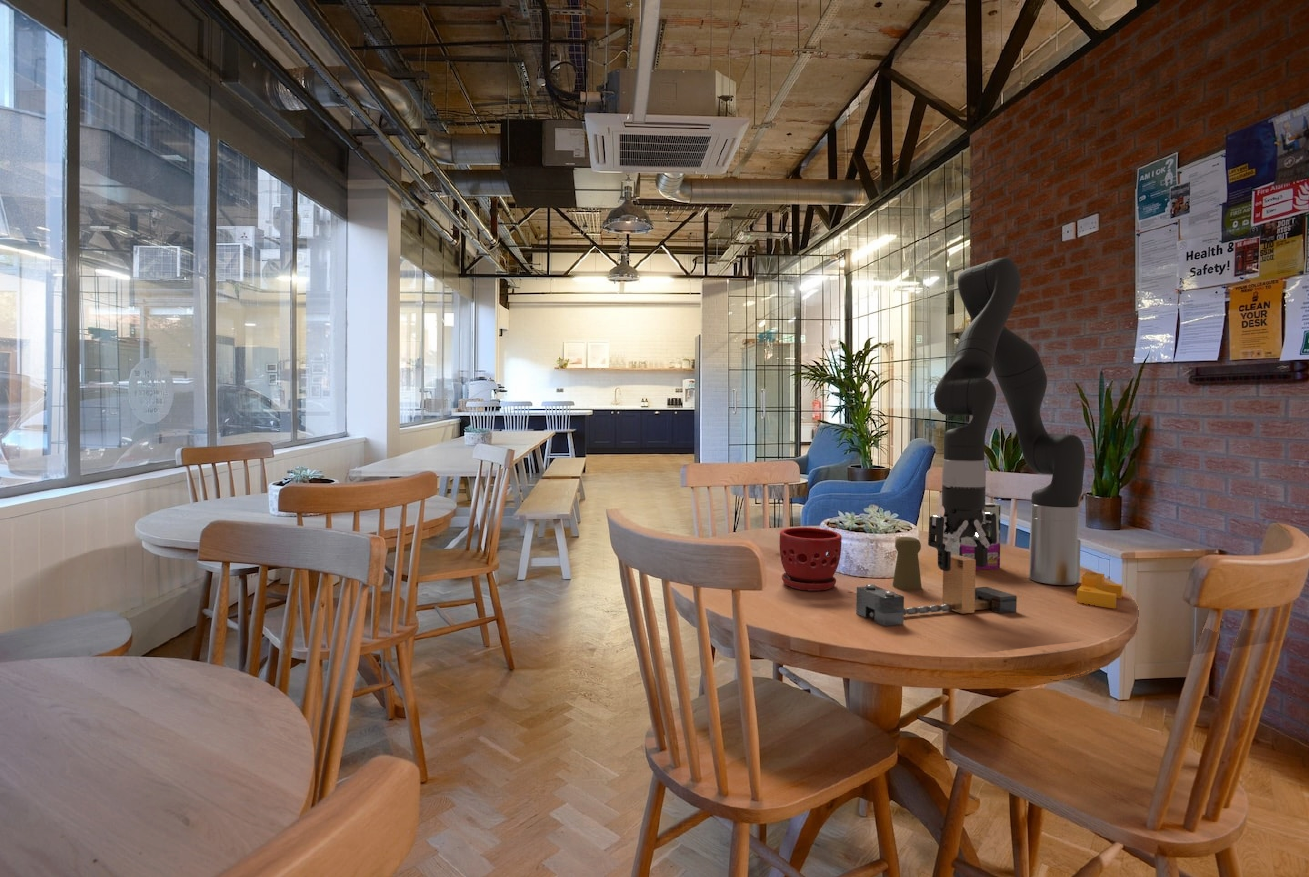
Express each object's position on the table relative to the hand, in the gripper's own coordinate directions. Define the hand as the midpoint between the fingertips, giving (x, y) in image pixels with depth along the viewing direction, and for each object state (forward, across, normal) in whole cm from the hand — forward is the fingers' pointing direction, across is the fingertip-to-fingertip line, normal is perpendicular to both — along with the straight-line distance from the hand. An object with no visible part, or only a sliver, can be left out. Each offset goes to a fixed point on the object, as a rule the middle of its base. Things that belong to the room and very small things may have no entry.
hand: (962, 568), depth 130 cm
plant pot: (+8, +18, -25) cm, 32 cm away
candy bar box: (+9, -31, -28) cm, 42 cm away
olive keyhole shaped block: (+8, -2, -18) cm, 20 cm away
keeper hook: (+8, -8, 0) cm, 11 cm away
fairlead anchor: (+8, +19, 0) cm, 20 cm away
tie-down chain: (+8, +9, 0) cm, 12 cm away
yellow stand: (+6, -32, -1) cm, 33 cm away
